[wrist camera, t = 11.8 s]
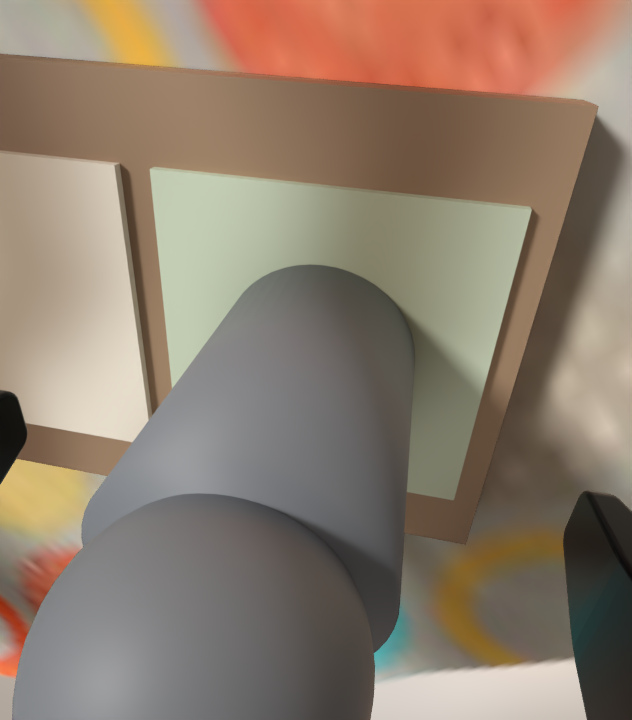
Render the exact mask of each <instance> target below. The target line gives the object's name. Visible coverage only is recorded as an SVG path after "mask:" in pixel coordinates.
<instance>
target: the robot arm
mask: <svg viewBox="0 0 632 720" xmlns="http://www.w3.org/2000/svg"><path fill="white" fill-rule="evenodd" d="M27 432H28V431H27V427H26V423H25V420H24V416H23V413H22V409H21V406H20V402H19V399H18V397H17V396H16V395H15V394H14V393H12V392H10V391H5V390H0V484H1V483H2V481H3V479H4V478H5V476H6V474H7V473H8V471H9V470H10V468H11V466H12V465H13V463H14V461H15V460H16V458H17V457H18V455H19V453H20V452H21V450H22V449H23V447H24V445H25V443H26V440H27ZM563 547H564V559H565V570H566V581H567V593H568V604H569V615H570V627H571V636H572V645H573V651H574V657H575V663H576V668H577V673H578V677H579V683H580V688H581V692H582V697H583V702H584V707H585V712H586V717H587V720H632V511H631V510H630V509H629V508H628V507H627V506H626V505H625V504H624V503H623V502H622V501H621V500H619V499H618V498H617V497H616V496H614V495H611V494H605V493H600V492H594V491H585V492H583V493H582V494H581V495H580V497H579V498H578V501H577V503H576V505H575V508H574V510H573V512H572V514H571V517H570V519H569V521H568V524H567V526H566V528H565V532H564V538H563Z"/></svg>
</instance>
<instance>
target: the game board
mask: <svg viewBox="0 0 632 720" xmlns="http://www.w3.org/2000/svg"><path fill="white" fill-rule="evenodd" d="M598 107H599V106H597V105H594V104H592V103H590V102H587V101H585V100H577V99H564V98H552V97H539V96H527V95H514V94H501V93H489V92H476V91H463V90H451V89H438V88H425V87H413V86H400V85H388V84H375V83H362V82H350V81H337V80H324V79H312V78H299V77H286V76H274V75H261V74H248V73H236V72H223V71H211V70H198V69H185V68H173V67H160V66H147V65H135V64H122V63H109V62H97V61H84V60H72V59H59V58H46V57H34V56H21V55H8V54H0V390H5V391H10V392H12V393H14V394H15V395H16V396H17V397H18V399H19V402H20V406H21V409H22V413H23V416H24V420H25V423H26V427H27V431H28V432H27V440H26V443H25V445H24V447H23V449H22V450H21V452H20V453H19V455H18V457H17V458H16V459H21V460H27V461H32V462H37V463H42V464H47V465H53V466H58V467H63V468H68V469H74V470H79V471H84V472H89V473H94V474H100V475H105V476H108V475H109V474H110V472H111V471H112V470H113V468H114V467H115V465H116V464H117V463H118V461H119V460H120V459H121V457H122V456H123V455H124V453H125V452H126V451H127V449H128V448H129V447H130V445H131V444H132V442H133V441H134V440H135V438H136V437H137V436H138V434H139V433H140V432H141V430H142V429H143V428H144V426H145V425H146V423H147V422H148V421H149V419H150V418H151V417H152V415H153V414H154V413H155V411H156V410H157V409H158V407H159V406H160V404H161V403H162V402H163V400H164V399H165V398H166V396H167V395H168V394H169V392H170V391H171V390H172V388H173V387H174V386H175V384H176V383H177V381H178V380H179V379H180V377H181V376H182V375H183V373H184V372H185V371H186V369H187V368H188V367H189V365H190V364H191V362H192V361H193V360H194V358H195V357H196V356H197V354H198V353H199V352H200V350H201V349H202V348H203V346H204V345H205V343H206V342H207V341H208V339H209V338H210V337H211V335H212V334H213V333H214V331H215V330H216V329H217V327H218V326H219V325H220V323H221V322H222V320H223V319H224V318H225V316H226V315H227V314H228V312H229V311H230V310H231V308H232V307H233V306H234V304H235V303H236V301H237V300H238V299H239V298H240V296H241V295H242V294H243V292H244V291H245V290H246V289H247V288H248V287H249V286H250V285H252V284H253V283H254V282H256V281H257V280H258V279H260V278H261V277H263V276H265V275H267V274H269V273H271V272H273V271H276V270H279V269H282V268H286V267H291V266H296V265H309V264H312V265H325V266H330V267H336V268H340V269H343V270H346V271H349V272H352V273H354V274H356V275H358V276H360V277H362V278H364V279H366V280H368V281H369V282H371V283H372V284H374V285H375V286H377V287H378V288H379V289H380V290H382V291H383V292H384V293H385V294H386V295H387V296H388V297H389V298H390V299H391V300H392V301H393V302H394V303H395V304H396V306H397V307H398V309H399V310H400V311H401V313H402V314H403V316H404V318H405V320H406V322H407V323H408V326H409V328H410V331H411V334H412V337H413V342H414V347H415V369H414V385H413V401H412V417H411V433H410V449H409V465H408V481H407V498H406V514H405V530H404V533H408V534H413V535H418V536H423V537H429V538H434V539H439V540H444V541H450V542H455V543H460V544H465V545H466V542H467V538H468V535H469V532H470V529H471V525H472V522H473V519H474V515H475V512H476V509H477V505H478V502H479V499H480V496H481V492H482V489H483V486H484V482H485V479H486V476H487V472H488V469H489V466H490V463H491V459H492V456H493V453H494V449H495V446H496V443H497V440H498V436H499V433H500V430H501V426H502V423H503V420H504V416H505V413H506V410H507V407H508V403H509V400H510V397H511V393H512V390H513V387H514V383H515V380H516V377H517V374H518V370H519V367H520V364H521V360H522V357H523V354H524V350H525V347H526V344H527V341H528V337H529V334H530V331H531V327H532V324H533V321H534V318H535V314H536V311H537V308H538V304H539V301H540V298H541V294H542V291H543V288H544V285H545V281H546V278H547V275H548V271H549V268H550V265H551V261H552V258H553V255H554V252H555V248H556V245H557V242H558V238H559V235H560V232H561V229H562V225H563V222H564V219H565V215H566V212H567V209H568V205H569V202H570V199H571V196H572V192H573V189H574V186H575V182H576V179H577V176H578V172H579V169H580V166H581V163H582V159H583V156H584V153H585V149H586V146H587V143H588V139H589V136H590V133H591V130H592V126H593V123H594V120H595V116H596V113H597V110H598Z"/></svg>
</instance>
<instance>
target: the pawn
mask: <svg viewBox="0 0 632 720" xmlns="http://www.w3.org/2000/svg"><path fill="white" fill-rule="evenodd" d="M414 369H415V347H414V342H413V337H412V334H411V331H410V328H409V326H408V323H407V322H406V320H405V318H404V316H403V314H402V313H401V311H400V310H399V309H398V307H397V306H396V304H395V303H394V302H393V301H392V300H391V299H390V298H389V297H388V296H387V295H386V294H385V293H384V292H383V291H382V290H380V289H379V288H378V287H377V286H375V285H374V284H372V283H371V282H369V281H368V280H366V279H364V278H362V277H360V276H358V275H356V274H354V273H352V272H349V271H346V270H343V269H340V268H336V267H330V266H325V265H312V264H309V265H296V266H291V267H286V268H282V269H279V270H276V271H273V272H271V273H269V274H267V275H265V276H263V277H261V278H260V279H258V280H257V281H256V282H254V283H253V284H252V285H250V286H249V287H248V288H247V289H246V290H245V291H244V292H243V294H242V295H241V296H240V298H239V299H238V300H237V301H236V303H235V304H234V306H233V307H232V308H231V310H230V311H229V312H228V314H227V315H226V316H225V318H224V319H223V320H222V322H221V323H220V325H219V326H218V327H217V329H216V330H215V331H214V333H213V334H212V335H211V337H210V338H209V339H208V341H207V342H206V343H205V345H204V346H203V348H202V349H201V350H200V352H199V353H198V354H197V356H196V357H195V358H194V360H193V361H192V362H191V364H190V365H189V367H188V368H187V369H186V371H185V372H184V373H183V375H182V376H181V377H180V379H179V380H178V381H177V383H176V384H175V386H174V387H173V388H172V390H171V391H170V392H169V394H168V395H167V396H166V398H165V399H164V400H163V402H162V403H161V404H160V406H159V407H158V409H157V410H156V411H155V413H154V414H153V415H152V417H151V418H150V419H149V421H148V422H147V423H146V425H145V426H144V428H143V429H142V430H141V432H140V433H139V434H138V436H137V437H136V438H135V440H134V441H133V442H132V444H131V445H130V447H129V448H128V449H127V451H126V452H125V453H124V455H123V456H122V457H121V459H120V460H119V461H118V463H117V464H116V465H115V467H114V468H113V470H112V471H111V472H110V474H109V475H108V476H107V478H106V479H105V480H104V482H103V483H102V484H101V486H100V487H99V489H98V490H97V491H96V493H95V494H94V495H93V497H92V498H91V499H90V501H89V503H88V506H87V508H86V510H85V512H84V517H83V521H82V543H83V548H82V549H81V550H80V551H79V552H78V553H77V554H76V556H75V557H74V558H73V559H72V560H71V562H70V563H69V564H68V565H67V567H66V568H65V569H64V570H63V572H62V573H61V574H60V575H59V577H58V578H57V579H56V581H55V582H54V583H53V585H52V587H51V588H50V590H49V592H48V593H47V595H46V597H45V598H44V600H43V602H42V604H41V606H40V608H39V610H38V612H37V614H36V617H35V619H34V621H33V623H32V626H31V628H30V630H29V632H28V635H27V637H26V640H25V643H24V647H23V650H22V654H21V657H20V660H19V664H18V670H17V676H16V683H15V689H14V696H13V711H12V712H13V713H12V720H370V718H371V712H372V706H373V697H374V679H375V663H374V653H375V652H376V651H377V650H378V649H379V648H380V647H381V646H382V645H383V644H384V643H385V642H386V641H387V640H388V638H389V636H390V635H391V633H392V631H393V630H394V627H395V625H396V622H397V619H398V615H399V607H400V594H401V578H402V562H403V546H404V530H405V514H406V498H407V481H408V465H409V449H410V433H411V417H412V401H413V385H414Z"/></svg>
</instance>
